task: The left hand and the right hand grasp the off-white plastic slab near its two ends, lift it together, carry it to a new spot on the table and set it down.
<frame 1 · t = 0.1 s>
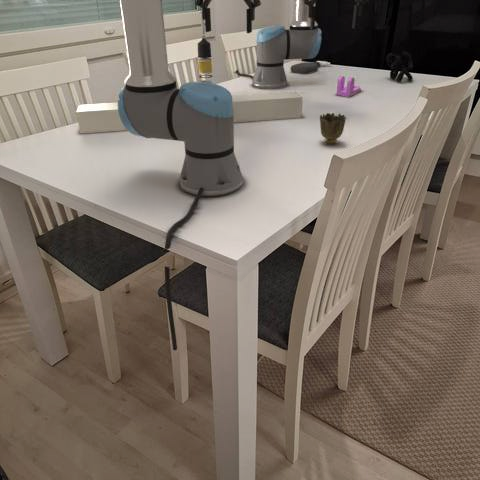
left hand: (228, 32, 139), 28 cm above the table, tool pointing down, fingers open, 13 cm apart
right hand: (333, 29, 141), 28 cm above the table, tool pointing down, fingers open, 13 cm apart
squiggle: (399, 80, 200), on the table
slab: (193, 121, 154), on the table
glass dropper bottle: (206, 91, 189), on the table
bracket: (349, 92, 183), on the table
frying pan: (310, 69, 224), on the table
cup: (330, 143, 133), on the table
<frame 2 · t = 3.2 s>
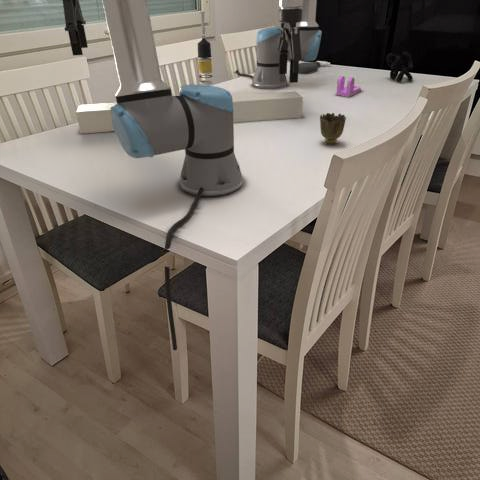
left hand: (80, 51, 136), 24 cm above the table, tool pointing down, fingers open, 13 cm apart
right hand: (287, 78, 152), 13 cm above the table, tool pointing down, fingers open, 13 cm apart
nothing on the table moved.
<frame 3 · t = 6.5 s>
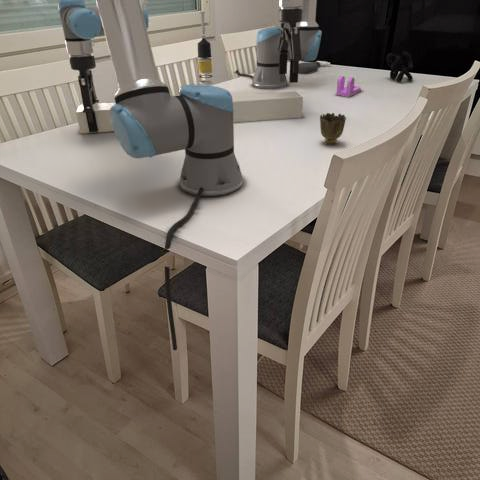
left hand: (95, 127, 149), 0 cm above the table, tool pointing down, fingers closed on slab, 9 cm apart
right hand: (287, 78, 152), 13 cm above the table, tool pointing down, fingers open, 13 cm apart
slab: (193, 121, 154), on the table, touching left hand
everything else where it was.
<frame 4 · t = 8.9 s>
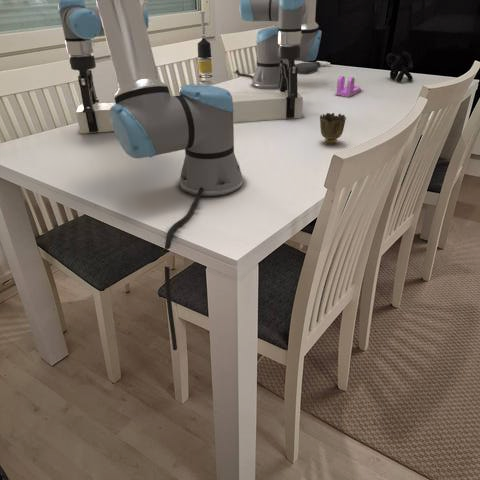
left hand: (95, 127, 149), 0 cm above the table, tool pointing down, fingers closed on slab, 9 cm apart
right hand: (286, 113, 158), 0 cm above the table, tool pointing down, fingers closed on slab, 9 cm apart
slab: (193, 121, 154), on the table, touching left hand, right hand
everything else where it was.
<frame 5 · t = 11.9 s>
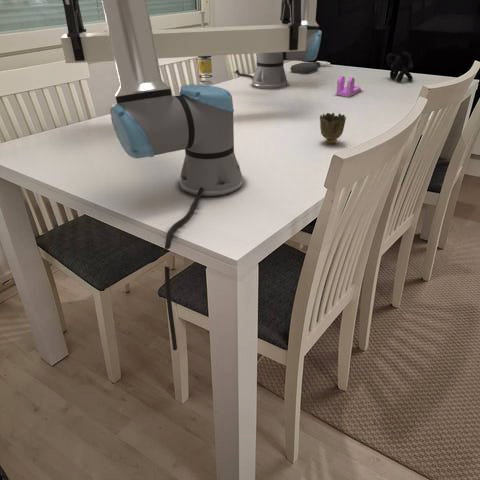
left hand: (81, 57, 137), 22 cm above the table, tool pointing down, fingers closed on slab, 9 cm apart
right hand: (289, 47, 147), 22 cm above the table, tool pointing down, fingers closed on slab, 9 cm apart
slab: (189, 54, 142), point 22 cm above the table, touching left hand, right hand
everything else where it was.
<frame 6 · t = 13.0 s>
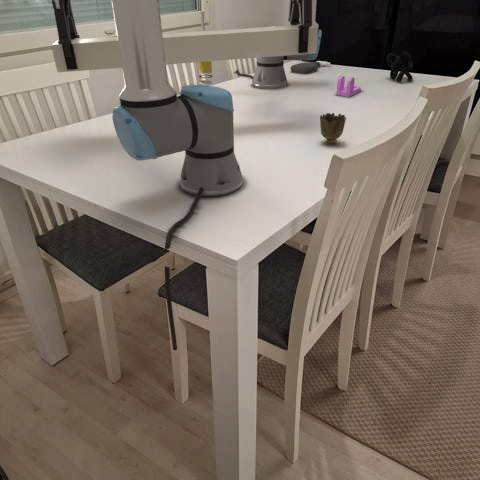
left hand: (74, 66, 127), 22 cm above the table, tool pointing down, fingers closed on slab, 9 cm apart
right hand: (298, 50, 136), 23 cm above the table, tool pointing down, fingers closed on slab, 9 cm apart
slab: (190, 60, 132), point 22 cm above the table, touching left hand, right hand
everything else where it was.
when the left hand's fingers open (2 cm above the table, at t = 17.3 s): slab stays where it is, on the table.
when the right hand's fingers open (2 cm above the table, at t = 17.3 s): slab stays where it is, on the table.
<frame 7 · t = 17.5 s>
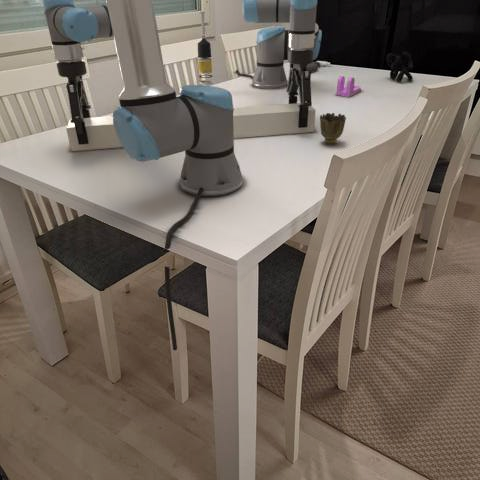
left hand: (86, 137, 134), 2 cm above the table, tool pointing down, fingers open, 11 cm apart
right hand: (297, 121, 144), 2 cm above the table, tool pointing down, fingers open, 11 cm apart
slab: (196, 136, 140), on the table
everything else where it was.
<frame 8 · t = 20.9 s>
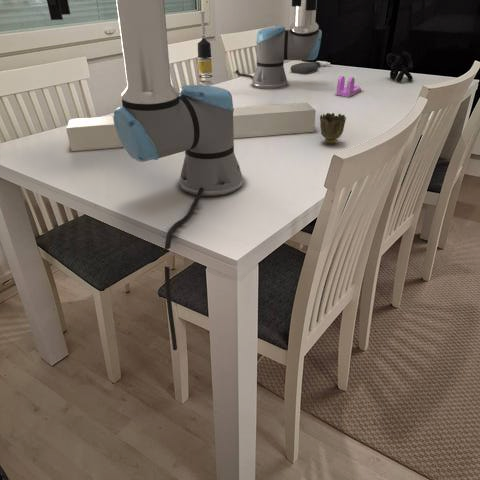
left hand: (61, 17, 117), 35 cm above the table, tool pointing down, fingers open, 13 cm apart
right hand: (303, 8, 126), 35 cm above the table, tool pointing down, fingers open, 13 cm apart
nothing on the table moved.
at the end: slab inside the target area (0.1 cm from its centre), on the table; slab tilted 0°; slab never tilted more than 2° during the clip; both hands held the slab at the same time; the left hand is holding nothing; the right hand is holding nothing; slab at rest at the end (0.0 cm/s) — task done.
